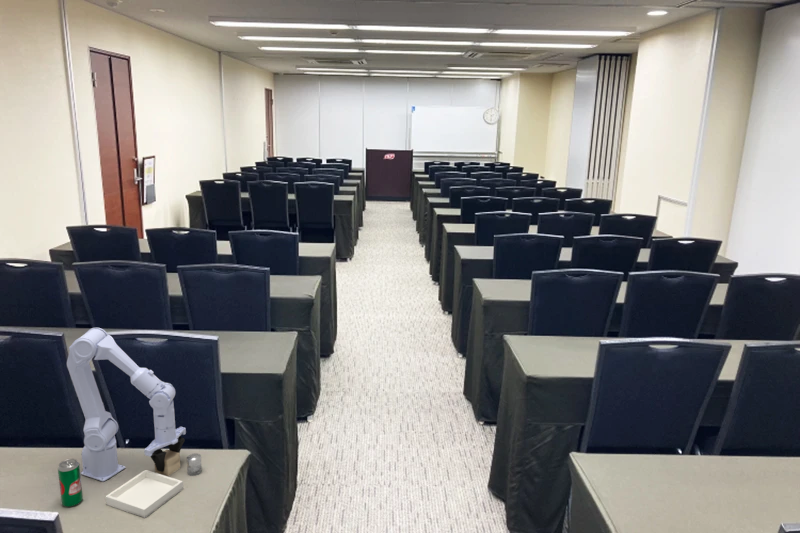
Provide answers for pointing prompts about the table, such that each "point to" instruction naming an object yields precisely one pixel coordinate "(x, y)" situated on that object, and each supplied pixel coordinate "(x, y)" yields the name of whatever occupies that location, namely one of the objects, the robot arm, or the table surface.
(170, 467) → the birch block
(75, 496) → the soda can
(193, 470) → the metal canister
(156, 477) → the tray
